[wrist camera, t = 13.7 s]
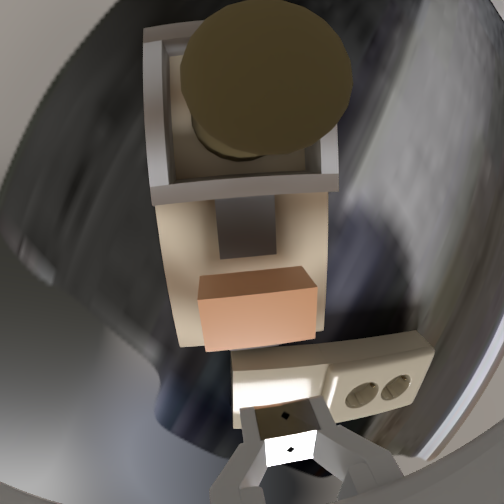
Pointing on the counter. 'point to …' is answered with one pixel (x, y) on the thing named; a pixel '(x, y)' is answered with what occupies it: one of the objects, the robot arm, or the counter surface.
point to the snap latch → (257, 308)
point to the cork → (264, 79)
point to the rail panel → (226, 195)
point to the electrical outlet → (333, 374)
